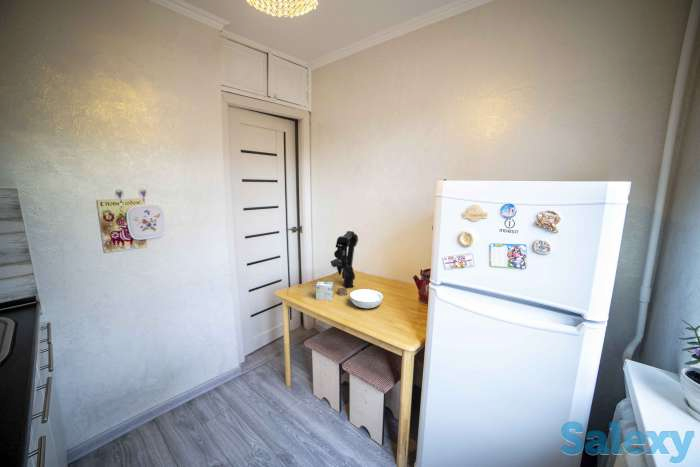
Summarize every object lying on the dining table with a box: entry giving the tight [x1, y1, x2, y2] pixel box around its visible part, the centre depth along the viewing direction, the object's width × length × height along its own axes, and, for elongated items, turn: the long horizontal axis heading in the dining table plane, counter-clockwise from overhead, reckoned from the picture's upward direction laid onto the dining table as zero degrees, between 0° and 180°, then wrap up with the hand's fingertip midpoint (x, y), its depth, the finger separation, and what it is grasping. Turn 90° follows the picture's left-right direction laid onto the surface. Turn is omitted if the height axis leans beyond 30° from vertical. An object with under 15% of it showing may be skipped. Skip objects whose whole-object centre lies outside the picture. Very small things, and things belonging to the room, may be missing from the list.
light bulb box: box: [315, 281, 334, 301], centre depth 184 cm, size 11×7×11 cm, turn 84°
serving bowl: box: [349, 288, 384, 309], centre depth 176 cm, size 21×21×7 cm
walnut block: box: [337, 287, 348, 297], centre depth 192 cm, size 5×5×4 cm
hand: (342, 276), depth 190 cm, fingers open, 9 cm apart
